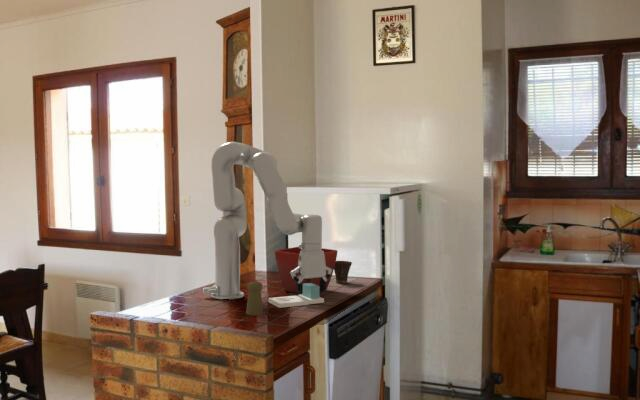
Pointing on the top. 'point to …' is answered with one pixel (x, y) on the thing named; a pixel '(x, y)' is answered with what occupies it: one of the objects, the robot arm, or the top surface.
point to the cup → (342, 271)
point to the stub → (311, 293)
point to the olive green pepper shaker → (254, 299)
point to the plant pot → (289, 262)
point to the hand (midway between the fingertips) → (311, 292)
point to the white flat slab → (288, 301)
